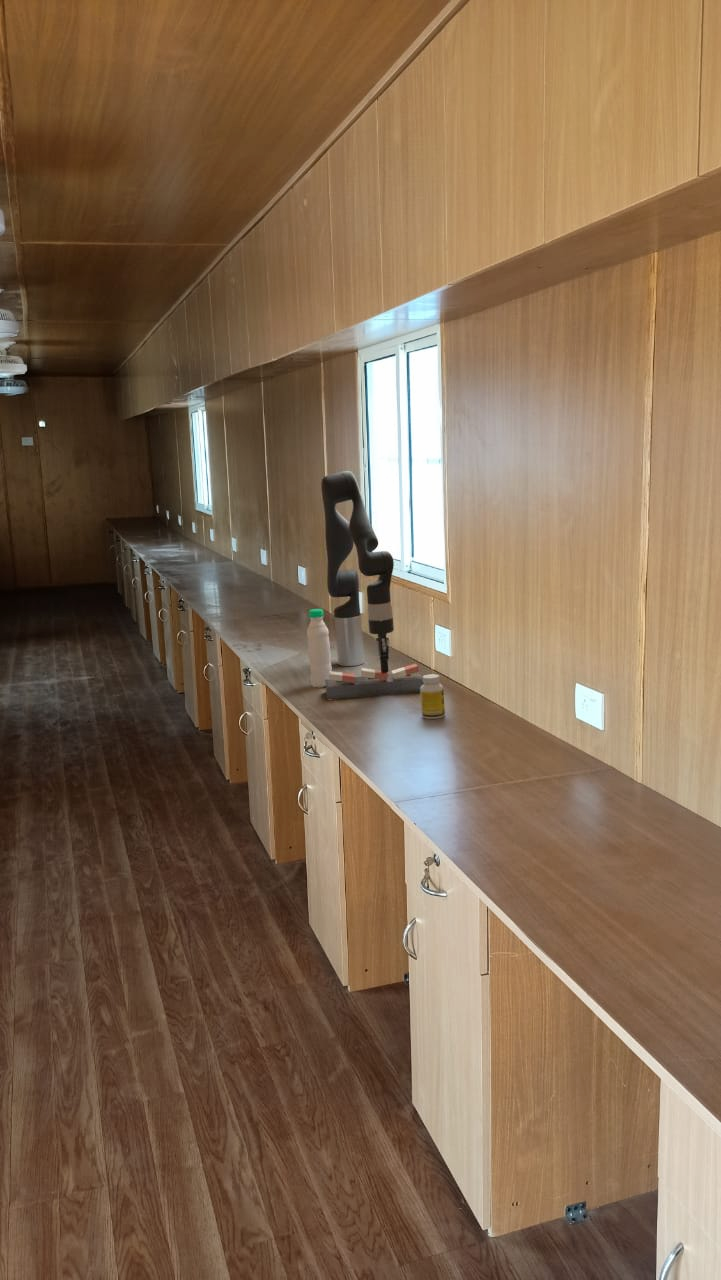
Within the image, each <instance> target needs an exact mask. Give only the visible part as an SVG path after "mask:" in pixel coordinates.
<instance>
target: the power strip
mask: <svg viewBox="0 0 721 1280" xmlns="http://www.w3.org/2000/svg"><path fill="white" fill-rule="evenodd" d="M325 684H326V687H325V694H326V700H327V701H329V700H328V699H333V700H341V698H344V699H352V698H366V697H376V696H377V697H378V696H385V695H399V694H408V693H418V692H419V693H420V688H421V686H422V685H423V684H424V682H423V675H422V674H421V671H420V670H419V672H416V673H413V674H410V675H406V676H403V677H400V678H396V679H394V677H393V675H392V673H389V674H388V678H387V680H382V679H376V678H369V677H362V676H355V683H353V682H345V681H336V680H329V679H328V680H325Z"/></svg>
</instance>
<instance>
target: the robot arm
mask: <svg viewBox="0 0 721 1280" xmlns="http://www.w3.org/2000/svg"><path fill="white" fill-rule="evenodd" d="M321 494H322V495H321V496H322V502H323V508H324V509H323V510H324V519H325V520H324V521H325V523H324V524H325V528H324V529H325V545H326V556H327V573H326V574H327V578H326V579H327V580H326V581H327V583H326V584H327V585H326V586H327V591H328V594H329V595H330V597H332V598H344V597H345V598H347V597H349V599H348V600H347V601H346V602H345V603H343V604H341V605H339V606H337V607H335V608H334V609H333V615H334V617H333V618H334V629H335V641H336V642H335V643H336V652H337V663H338V664H339V665H338V666H340V665H341V667H353V666H354V667H355V666H360V665H363V664H364V663H365V658H364V657H365V656H364V642H363V632H362V631H363V629H362V617H361V607H360V606H361V605H360V584H359V583H360V580H359V575H358V572H357V571H356V570H355V569H345V570H340V567H341V566H342V564H344V562H345V561H346V560H347V558H348V557H349V555H350V554H351V552H352V550H353V548H354V546H355V549H356V554H357V558H358V562H357V563H358V569H359V572H360V574H362V575H363V576H365V577H374V576H378V577H377V580H376V581H374V582H372V583H370V584H368V585H367V587H366V596H367V598H366V599H367V618H368V621H367V622H368V631H369V633H370V634H371V635H377V637H375V645H376V650H377V654H378V659H379V661H380V671H381V672H382V673H389V659H390V657H389V653H390V638H389V637H388V636H387V634H391V633H393V632H394V629H395V628H394V614H393V607H392V601H391V581H392V577H393V572H394V565H395V564H394V562H395V560H394V558H393V555H392V554H391V553H390V552H389V551H388V550H380V551H379V550H378V551H375V550H376V549H377V548H378V546H379V540H378V538H377V537H378V536H377V535H376V533H375V531H374V529H373V526H372V524H371V523H370V519H369V516H368V513H367V508H366V506H365V503H364V499H363V496H362V493H361V489H360V487H359V483H358V480H357V478H356V477H355V474H354V473H353V472H352V471H350V470H345V471H340V472H336V473H332V474H329V475H326V476H323V477H322V479H321ZM348 501H351V502H352V512H351V516H350V519H349V521H348V520H347V519H346V518H345V516H343V515H342V514H341V513H340V512H339V510H338V509H337V508H336V505H337V504H340V503H344V502H348Z"/></svg>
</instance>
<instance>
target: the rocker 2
mask: <svg viewBox="0 0 721 1280" xmlns="http://www.w3.org/2000/svg"><path fill="white" fill-rule="evenodd" d="M388 673H389V672H387V673H382V672H381V670H379V669H371V668H366V667H361V670H360V677H369V678H376V679H382V680H387V678H388Z"/></svg>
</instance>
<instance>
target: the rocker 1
mask: <svg viewBox="0 0 721 1280" xmlns="http://www.w3.org/2000/svg"><path fill="white" fill-rule="evenodd" d="M355 677H356V673H349V672H341V671H333V670H332V671H329V680H336V681H345V682H353V683H355Z"/></svg>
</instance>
